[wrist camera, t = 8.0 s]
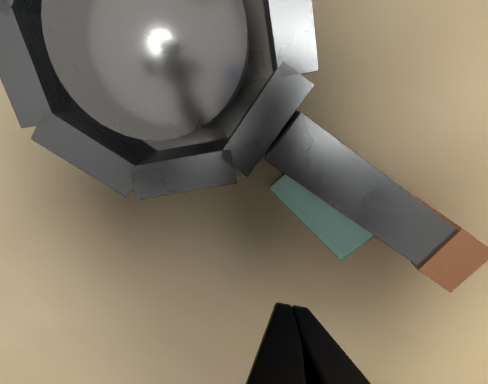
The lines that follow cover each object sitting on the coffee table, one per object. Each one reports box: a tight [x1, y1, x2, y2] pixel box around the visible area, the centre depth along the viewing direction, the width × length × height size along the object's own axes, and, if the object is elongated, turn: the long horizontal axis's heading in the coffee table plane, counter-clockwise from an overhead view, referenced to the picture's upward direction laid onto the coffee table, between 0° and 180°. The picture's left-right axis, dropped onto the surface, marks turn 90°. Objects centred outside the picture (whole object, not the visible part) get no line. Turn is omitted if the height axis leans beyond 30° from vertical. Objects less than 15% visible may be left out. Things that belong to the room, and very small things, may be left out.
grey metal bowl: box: [41, 0, 273, 151], centre depth 10 cm, size 10×10×4 cm
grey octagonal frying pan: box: [0, 0, 488, 292], centre depth 11 cm, size 18×10×3 cm, turn 55°
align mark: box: [269, 174, 374, 260], centre depth 14 cm, size 5×2×1 cm, turn 44°
